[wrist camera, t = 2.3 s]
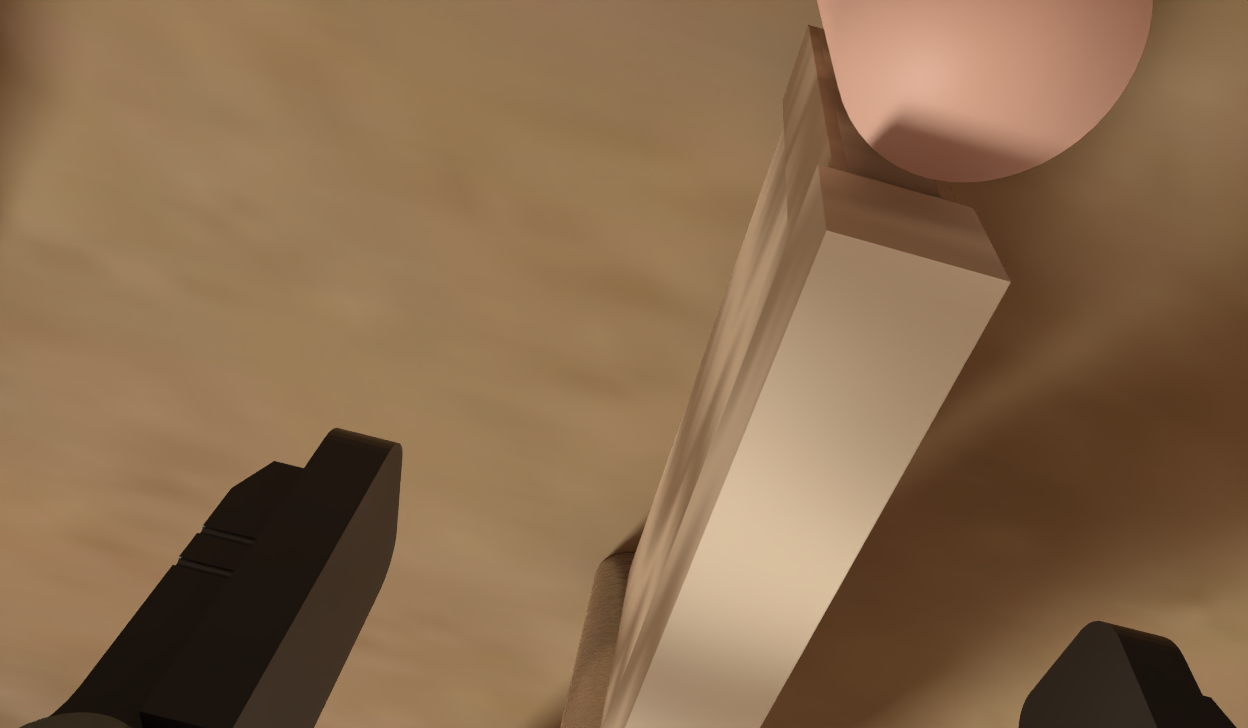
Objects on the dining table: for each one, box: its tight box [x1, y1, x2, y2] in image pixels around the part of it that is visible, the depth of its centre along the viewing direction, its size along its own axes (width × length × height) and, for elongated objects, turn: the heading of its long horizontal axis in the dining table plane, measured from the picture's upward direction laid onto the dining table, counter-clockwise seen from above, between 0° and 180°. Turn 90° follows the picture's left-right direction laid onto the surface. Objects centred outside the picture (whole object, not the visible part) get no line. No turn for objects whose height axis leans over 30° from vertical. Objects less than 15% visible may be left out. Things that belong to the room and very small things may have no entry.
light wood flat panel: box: [600, 25, 1011, 728], centre depth 18 cm, size 17×2×10 cm, turn 167°
